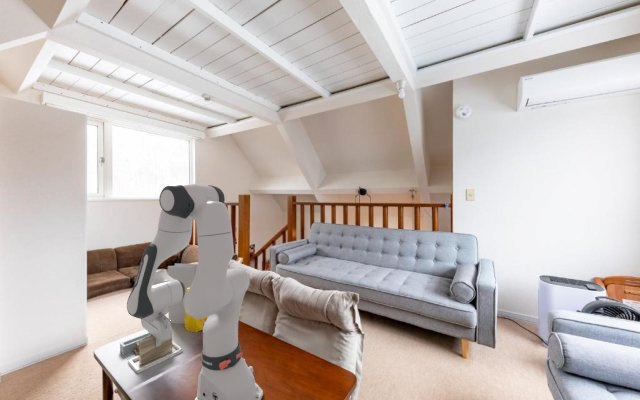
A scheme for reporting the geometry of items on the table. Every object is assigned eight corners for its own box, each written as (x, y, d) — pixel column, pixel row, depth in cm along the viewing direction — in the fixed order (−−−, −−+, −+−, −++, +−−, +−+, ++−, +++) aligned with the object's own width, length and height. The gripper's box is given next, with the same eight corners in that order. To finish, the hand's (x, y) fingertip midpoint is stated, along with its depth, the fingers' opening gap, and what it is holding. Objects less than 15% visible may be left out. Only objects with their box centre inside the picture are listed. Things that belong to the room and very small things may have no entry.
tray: (182, 353, 104) (182, 348, 104) (137, 376, 92) (137, 370, 91) (172, 345, 110) (172, 341, 110) (128, 365, 97) (128, 360, 97)
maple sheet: (172, 351, 104) (171, 329, 104) (141, 365, 96) (141, 341, 96) (169, 349, 106) (169, 328, 106) (139, 363, 97) (139, 339, 97)
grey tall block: (201, 320, 132) (200, 264, 132) (195, 326, 127) (194, 267, 126) (175, 319, 134) (175, 263, 133) (168, 324, 128) (167, 266, 128)
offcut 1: (157, 341, 107) (157, 338, 107) (137, 348, 102) (137, 345, 102) (155, 338, 110) (155, 335, 110) (135, 345, 105) (135, 342, 105)
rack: (171, 346, 110) (170, 335, 110) (129, 364, 98) (129, 353, 98) (159, 337, 117) (159, 327, 117) (119, 353, 105) (119, 342, 105)
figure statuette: (215, 329, 123) (214, 285, 123) (203, 338, 116) (202, 291, 115) (187, 324, 129) (186, 281, 128) (174, 331, 121) (173, 286, 121)
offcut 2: (162, 346, 108) (162, 343, 108) (137, 356, 101) (137, 353, 101) (157, 342, 111) (157, 339, 111) (133, 352, 104) (133, 349, 104)
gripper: (175, 314, 97) (176, 349, 97) (154, 301, 109) (154, 332, 109) (157, 320, 92) (158, 358, 92) (137, 306, 104) (137, 339, 104)
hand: (156, 344), depth 101 cm, fingers closed on maple sheet, 2 cm apart
